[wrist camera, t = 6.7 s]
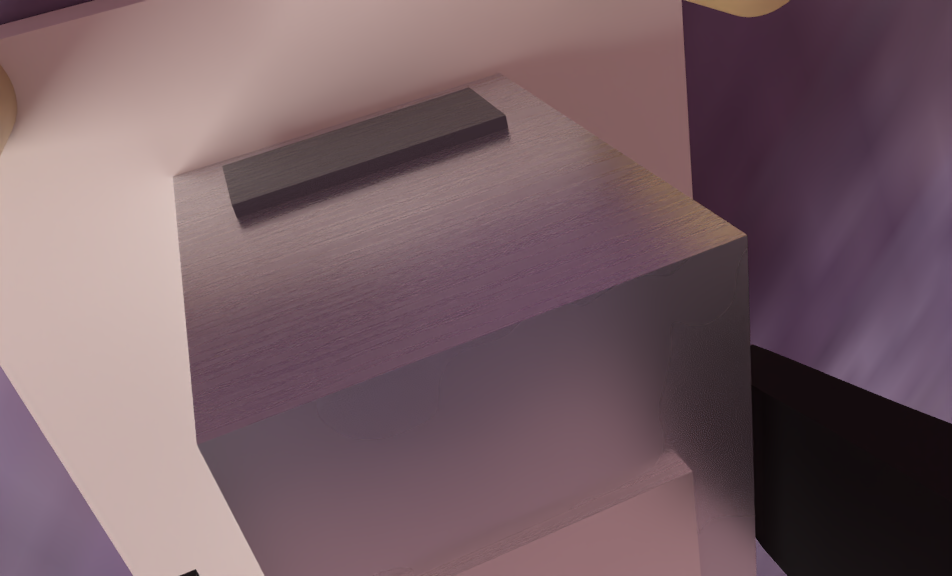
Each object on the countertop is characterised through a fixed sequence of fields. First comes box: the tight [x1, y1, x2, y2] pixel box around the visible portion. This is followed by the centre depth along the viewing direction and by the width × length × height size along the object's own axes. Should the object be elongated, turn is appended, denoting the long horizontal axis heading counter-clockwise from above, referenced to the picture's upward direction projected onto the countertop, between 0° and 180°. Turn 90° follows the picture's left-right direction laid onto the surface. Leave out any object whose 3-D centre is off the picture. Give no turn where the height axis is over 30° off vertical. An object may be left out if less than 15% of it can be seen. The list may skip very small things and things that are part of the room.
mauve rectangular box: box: [173, 73, 756, 576], centre depth 10 cm, size 8×4×5 cm, turn 12°
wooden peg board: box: [0, 0, 790, 576], centre depth 11 cm, size 13×10×4 cm
